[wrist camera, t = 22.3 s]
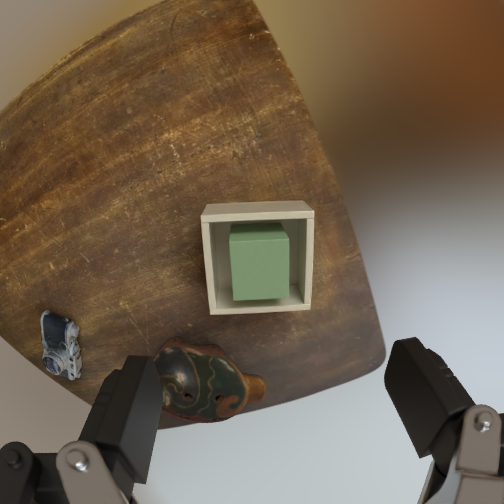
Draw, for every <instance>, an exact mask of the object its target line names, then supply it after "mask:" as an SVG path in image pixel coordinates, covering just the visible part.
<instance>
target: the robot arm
mask: <svg viewBox="0 0 504 504" xmlns="http://www.w3.org/2000/svg"><path fill="white" fill-rule="evenodd" d="M384 382H385V387H386V390H387V392H388V394H389V396H390V398H391V400H392V402H393V404H394V405H395V408H396V410H397V412H398V414H399V416H400V418H401V420H402V422H403V424H404V426H405V428H406V430H407V433H408V435H409V437H410V439H411V441H412V443H413V445H414V447H415V450H416V452H417V454H418V456H419V458H423V457H425V456H428V455H431V454H432V457H433V461H432V462H431V465H430V468H429V472H428V474H427V477H426V481H425V484H424V487H423V489H422V492H421V495H420V498H419V501H418V503H417V504H504V413H501V414H498V413H497V412H496V410H494V409H493V408H491V407H490V406H487V405H482V404H481V405H476V404H475V403H474V401H473V400H472V398H471V397H470V396H469V394H468V393H467V391H466V390H465V389H464V387H463V386H462V385H461V383H460V382H459V380H458V379H457V378H456V377H455V376H454V375H453V372H452V371H451V370H450V368H448V366H447V364H446V363H445V362H444V360H443V359H442V358H441V356H439V355H438V354H436V353H435V352H433V351H432V350H430V349H426V348H425V347H424V346H423V344H422V343H421V342H420V341H419V339H418V338H416V337H412V338H407V339H402V340H397V341H395V342H394V344H393V347H392V351H391V354H390V357H389V361H388V364H387V367H386V371H385V375H384ZM162 406H163V390H162V386H161V383H160V380H159V376H158V373H157V370H156V366H155V363H154V360H153V358H152V357H151V356H138V355H129V356H128V357H127V359H126V361H125V364H124V366H123V368H122V370H118V369H115V370H114V371H113V372H112V373H111V374H110V375H108V376H107V377H106V378H105V380H104V382H103V384H102V386H101V388H100V390H99V393H98V395H97V397H96V399H95V403H94V404H93V406H92V409H91V411H90V413H89V415H88V418H87V420H86V423H85V425H84V427H83V430H82V432H81V435H80V437H79V439H78V440H77V441H73V442H70V443H68V444H66V445H65V446H63V447H62V448H61V449H60V451H59V452H58V453H33V452H32V451H31V450H30V449H29V448H28V447H27V446H26V445H25V444H24V443H21V442H10V443H8V444H6V445H4V446H3V447H2V448H1V449H0V504H139V502H138V501H137V499H136V498H135V496H134V494H133V493H132V491H133V486H134V482H135V483H141V484H146V480H147V475H148V470H149V466H150V461H151V456H152V451H153V446H154V442H155V437H156V432H157V428H158V424H159V419H160V415H161V411H162Z"/></svg>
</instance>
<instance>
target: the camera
mask: <svg viewBox="0 0 504 504" xmlns="http://www.w3.org/2000/svg"><path fill="white" fill-rule="evenodd" d="M40 325H41V327H40V328H41V334H42V338H41V340H42V344H43V348H44V351H43V357H42V361H43V364H44V365H45V367H46V368H47V370H48V371H49V372H51V373H52V374H55V375H61V376H63V377H65V378H67V379H70V380H74V379H75V377H77V378H80V376H81V373H80V372H79V370H80V368H81V367H82V360H81V355H80V353H79V351H80V350H81V348H80V347H79V345H78V341H77V336H78V334H79V327H78V326H76V325H75V323H74V321H72V320H70V319H68V318H65V317H63V316H60V315H58V314H56V313H53V312H51V311H49V310H45V311H43V313H42V315H41V319H40Z"/></svg>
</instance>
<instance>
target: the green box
mask: <svg viewBox="0 0 504 504" xmlns="http://www.w3.org/2000/svg"><path fill="white" fill-rule="evenodd" d="M229 254H230V267H231V281H232V294H233V301H240V300H259V299H276V298H289V238H288V236H287V234H286V232H285V230H284V228H283V226H282V224H281V223H280V222H277V223H255V224H235V225H231V228H230V236H229Z"/></svg>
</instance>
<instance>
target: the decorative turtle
mask: <svg viewBox="0 0 504 504" xmlns="http://www.w3.org/2000/svg"><path fill="white" fill-rule="evenodd" d="M153 360H154V363H155V366H156V370H157V373H158V376H159V380H160V383H161V386H162V390H163V406H162V409H163V410H165V411H166V412H168V413H169V414H171V415H173V416H175V417H177V418H180V419H183V420H186V421H190V422H199V423H213V422H220V421H224V420H227V419H229V418H231V417H233V416H235V415H236V414H238V413H239V412H240V411H241V410H242V408H243V407H244V406H245V405H246V404H247V403H251V402H256V401H261V400H262V399H263V398H264V396H265V393H266V385H265V382H264V380H263V378H262V377H260V376H258V375H253V374H246V373H241V372H240V371H239V369H238V368H237V367H236V366H235V364H234V363H233V362H232V361H230V360H229V359H228V358H227V357H226V355H225V353H224V351H223V349H222V348H221V347H220V346H218V345H203V346H200V345H191V344H188V343H187V342H186V341H185V340H183V339H182V338H180V337H178V336H174V337H171V338H170V339H169V340H168V341H167V342H166V343H165V344H164V345H163V347H162V348H161V349H160V350H159V351H158V352H157V354H156V355H155V356H154V357H153Z"/></svg>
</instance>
